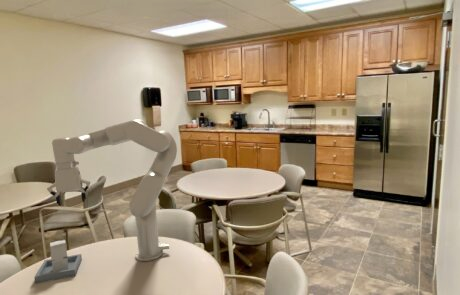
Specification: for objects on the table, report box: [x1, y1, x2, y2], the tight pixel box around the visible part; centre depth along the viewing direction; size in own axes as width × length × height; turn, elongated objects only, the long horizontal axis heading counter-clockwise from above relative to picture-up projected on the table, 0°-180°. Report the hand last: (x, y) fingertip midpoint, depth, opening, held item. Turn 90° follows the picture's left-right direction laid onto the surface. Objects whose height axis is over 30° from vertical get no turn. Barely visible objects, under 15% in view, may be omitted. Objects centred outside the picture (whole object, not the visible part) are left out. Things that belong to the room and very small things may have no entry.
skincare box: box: [49, 239, 68, 272], centre depth 130 cm, size 6×4×12 cm
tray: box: [33, 253, 83, 285], centre depth 131 cm, size 15×14×3 cm
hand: (72, 202), depth 135 cm, fingers open, 9 cm apart
